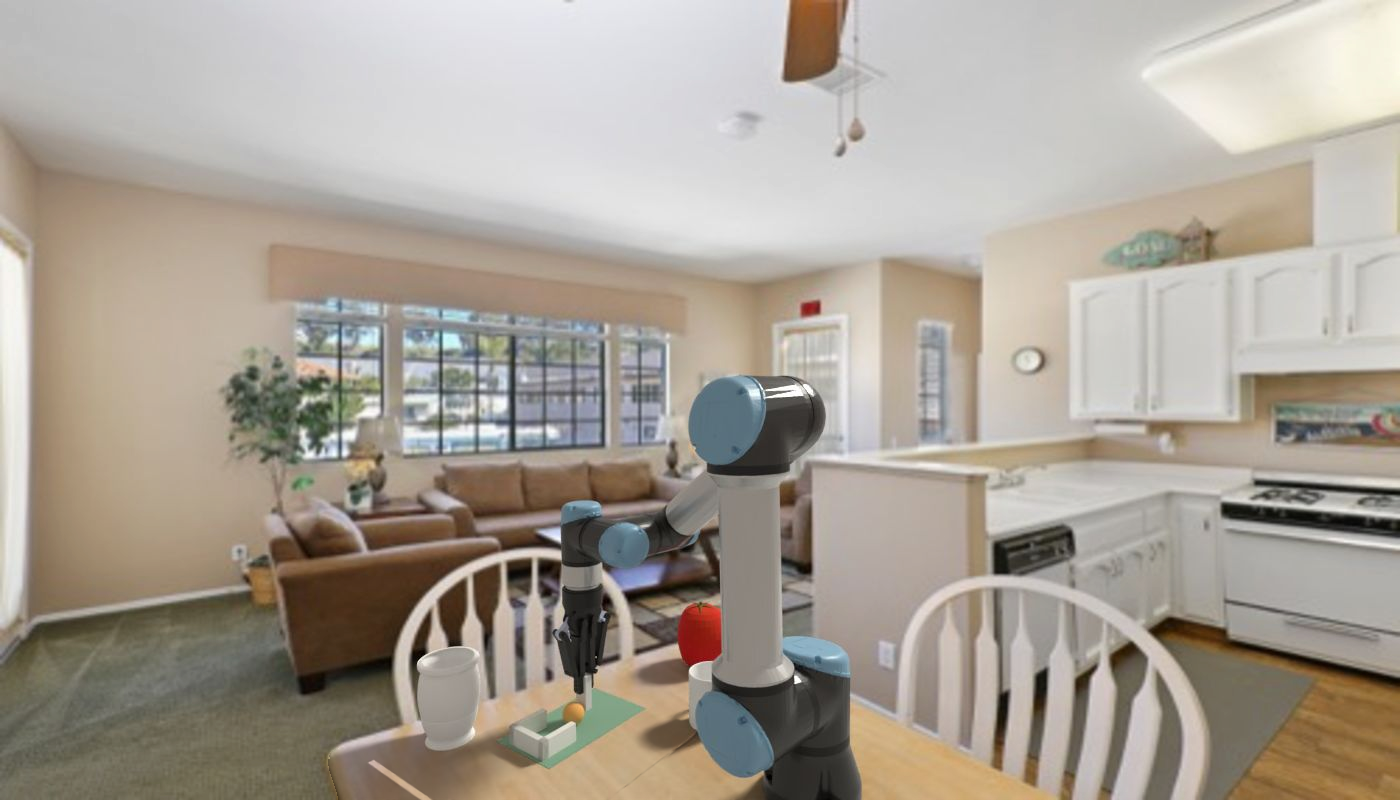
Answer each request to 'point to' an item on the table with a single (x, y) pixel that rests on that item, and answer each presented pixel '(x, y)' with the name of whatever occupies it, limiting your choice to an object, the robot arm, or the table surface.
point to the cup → (698, 686)
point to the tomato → (700, 633)
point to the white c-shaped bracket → (535, 744)
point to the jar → (448, 696)
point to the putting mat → (585, 724)
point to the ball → (573, 712)
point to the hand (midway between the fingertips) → (584, 707)
